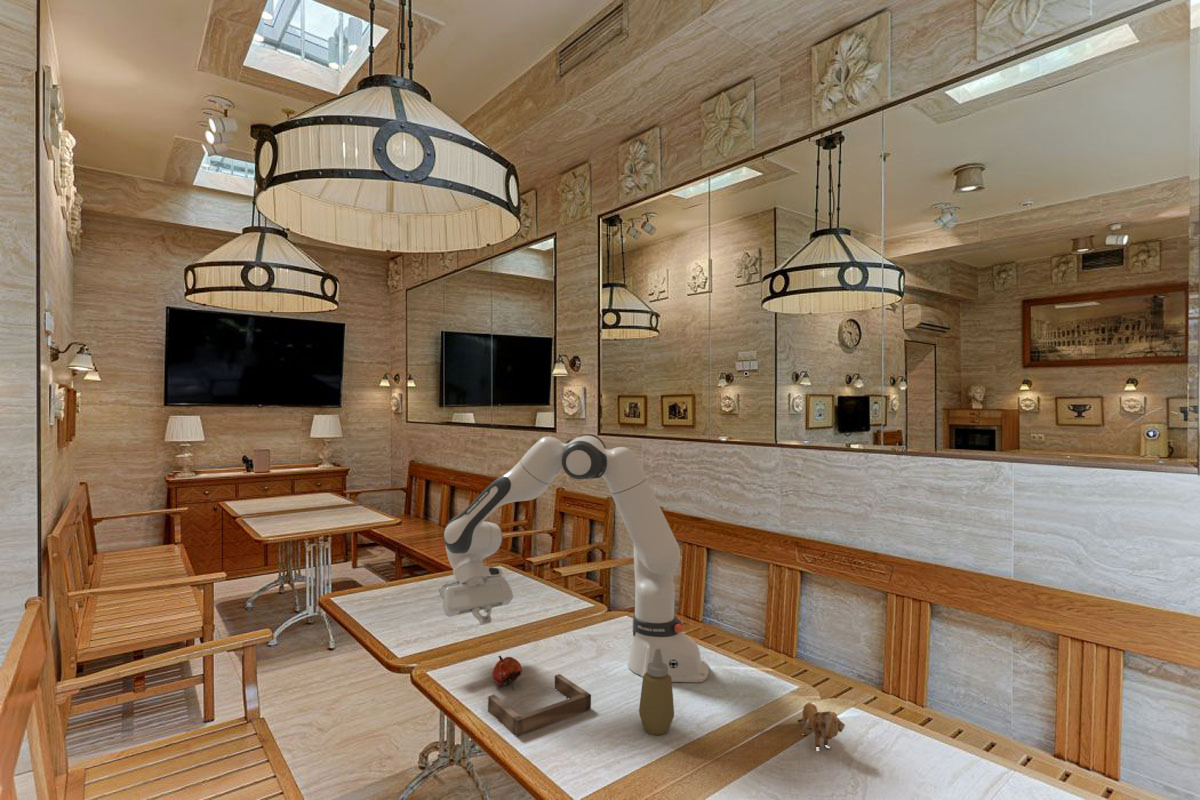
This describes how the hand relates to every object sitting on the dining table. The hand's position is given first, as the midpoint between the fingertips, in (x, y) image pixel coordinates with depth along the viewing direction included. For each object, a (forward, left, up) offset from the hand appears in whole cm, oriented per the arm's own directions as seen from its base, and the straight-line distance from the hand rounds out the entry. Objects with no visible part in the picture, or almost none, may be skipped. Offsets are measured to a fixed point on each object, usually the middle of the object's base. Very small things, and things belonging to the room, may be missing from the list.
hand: (486, 623), depth 166 cm
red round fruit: (-9, +8, -13) cm, 18 cm away
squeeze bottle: (-49, +20, -12) cm, 55 cm away
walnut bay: (-21, +18, -12) cm, 30 cm away
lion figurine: (-85, +17, -13) cm, 88 cm away
